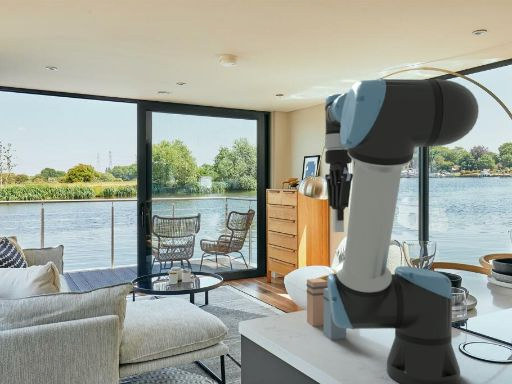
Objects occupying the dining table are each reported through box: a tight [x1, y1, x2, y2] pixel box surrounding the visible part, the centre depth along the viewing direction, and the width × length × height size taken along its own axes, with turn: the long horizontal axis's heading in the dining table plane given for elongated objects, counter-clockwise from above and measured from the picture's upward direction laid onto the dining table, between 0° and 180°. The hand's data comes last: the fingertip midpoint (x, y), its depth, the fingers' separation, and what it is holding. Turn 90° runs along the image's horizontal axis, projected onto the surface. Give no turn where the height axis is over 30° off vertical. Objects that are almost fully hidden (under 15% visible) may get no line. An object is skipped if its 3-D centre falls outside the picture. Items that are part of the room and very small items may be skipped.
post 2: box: [323, 288, 347, 341], centre depth 120 cm, size 5×5×13 cm
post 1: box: [306, 277, 328, 327], centre depth 132 cm, size 5×5×13 cm
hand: (338, 231), depth 125 cm, fingers closed
